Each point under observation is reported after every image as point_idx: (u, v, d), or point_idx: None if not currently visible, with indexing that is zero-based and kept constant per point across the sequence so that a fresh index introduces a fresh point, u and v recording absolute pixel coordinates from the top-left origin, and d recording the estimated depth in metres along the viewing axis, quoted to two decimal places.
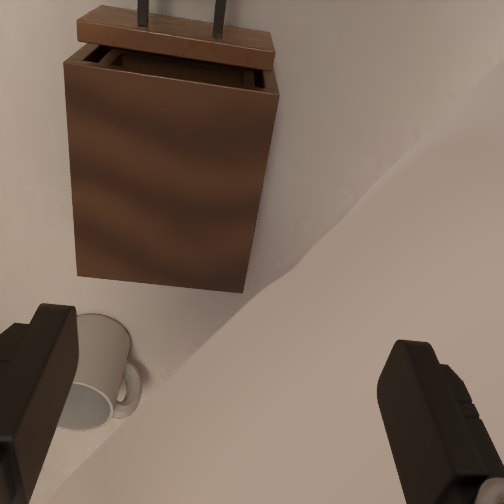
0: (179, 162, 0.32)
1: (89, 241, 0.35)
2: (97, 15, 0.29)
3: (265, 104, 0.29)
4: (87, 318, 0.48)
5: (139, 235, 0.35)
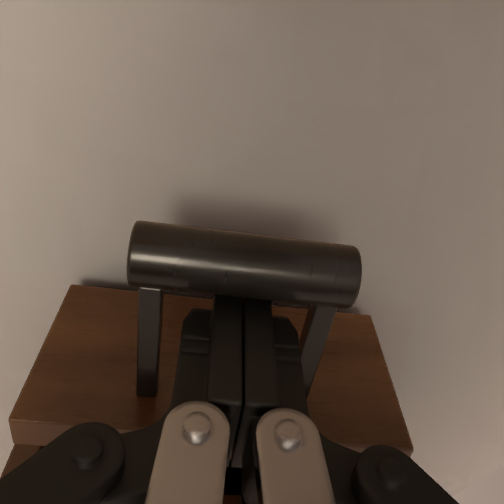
0: None
1: None
2: (57, 363, 0.15)
3: None
4: None
5: None
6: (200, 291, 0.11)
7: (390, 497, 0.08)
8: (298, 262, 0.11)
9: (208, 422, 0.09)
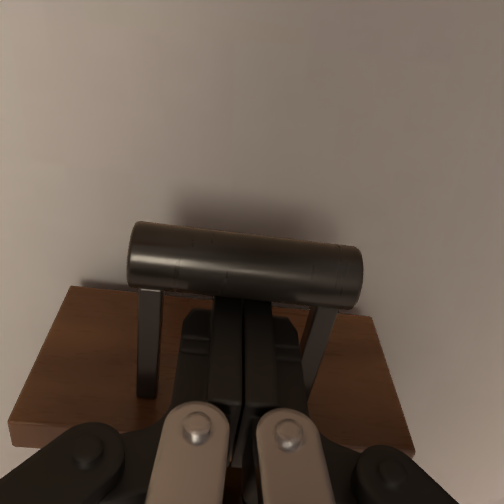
0: None
1: None
2: (56, 365, 0.15)
3: None
4: None
5: None
6: (201, 292, 0.11)
7: (390, 497, 0.08)
8: (299, 263, 0.11)
9: (208, 422, 0.09)
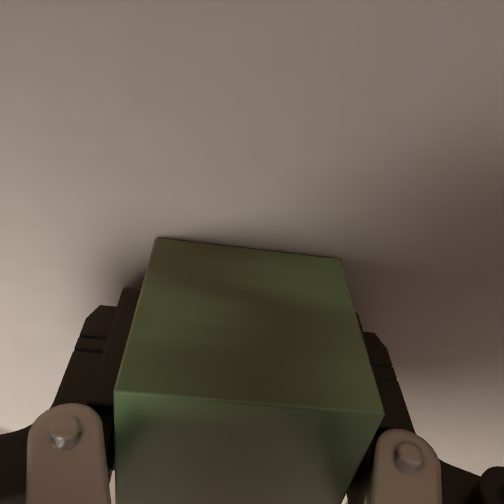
0: None
1: None
2: None
3: None
4: None
5: None
6: None
7: None
8: None
9: (77, 422, 0.08)
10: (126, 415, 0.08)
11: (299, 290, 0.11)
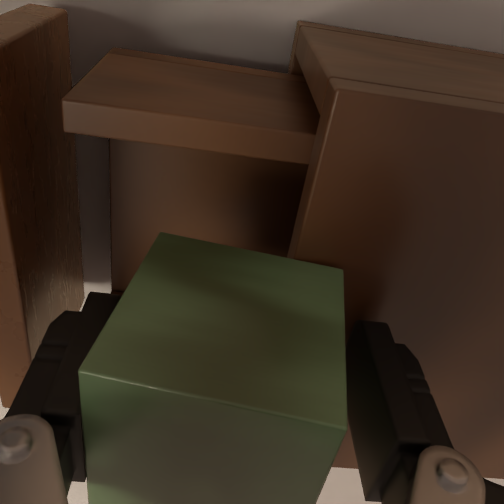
0: (473, 327, 0.13)
1: None
2: None
3: (360, 130, 0.10)
4: None
5: None
6: None
7: None
8: None
9: (26, 433, 0.08)
10: (91, 395, 0.08)
11: (290, 295, 0.10)
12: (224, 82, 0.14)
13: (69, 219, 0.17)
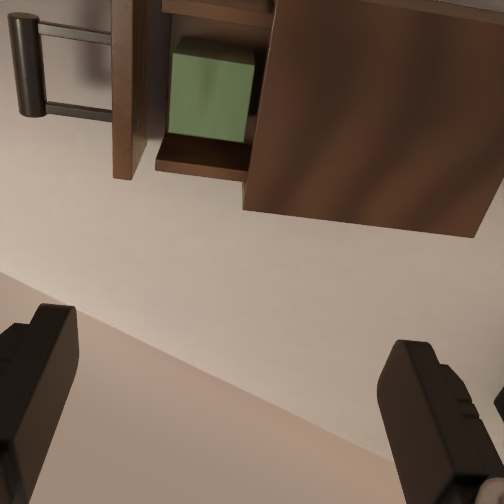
0: (351, 114, 0.27)
1: (431, 219, 0.32)
2: None
3: (289, 5, 0.24)
4: None
5: (437, 167, 0.29)
6: (34, 89, 0.28)
7: None
8: (11, 45, 0.27)
9: None
10: None
11: (229, 56, 0.28)
12: None
13: (145, 83, 0.32)
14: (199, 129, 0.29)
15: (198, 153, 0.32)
